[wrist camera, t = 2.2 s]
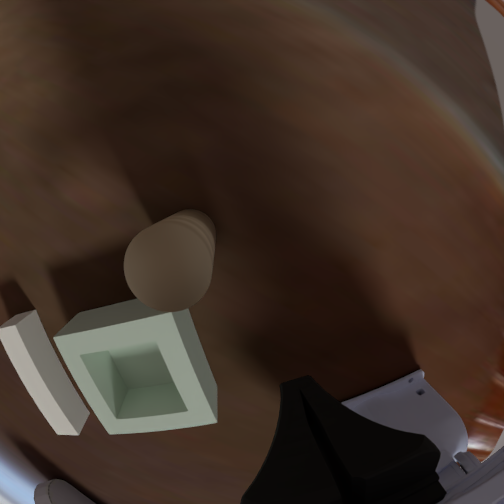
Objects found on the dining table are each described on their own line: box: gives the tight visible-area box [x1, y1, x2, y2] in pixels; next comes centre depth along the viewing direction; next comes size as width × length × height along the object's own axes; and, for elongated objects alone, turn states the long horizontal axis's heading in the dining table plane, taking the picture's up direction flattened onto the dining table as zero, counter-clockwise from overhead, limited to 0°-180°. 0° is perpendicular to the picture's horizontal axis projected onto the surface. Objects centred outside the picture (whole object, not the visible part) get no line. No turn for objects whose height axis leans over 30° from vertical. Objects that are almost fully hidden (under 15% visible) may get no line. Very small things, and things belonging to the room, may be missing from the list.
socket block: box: [53, 298, 217, 434], centre depth 17 cm, size 8×8×4 cm
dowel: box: [124, 209, 217, 312], centre depth 14 cm, size 3×3×8 cm
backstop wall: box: [0, 310, 90, 435], centre depth 17 cm, size 2×10×3 cm, turn 14°
